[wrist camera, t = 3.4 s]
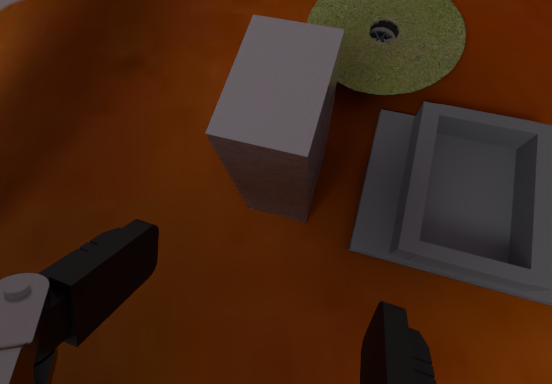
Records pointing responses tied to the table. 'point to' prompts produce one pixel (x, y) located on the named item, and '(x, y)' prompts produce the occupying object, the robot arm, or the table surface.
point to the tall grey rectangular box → (278, 113)
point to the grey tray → (461, 198)
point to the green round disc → (393, 42)
